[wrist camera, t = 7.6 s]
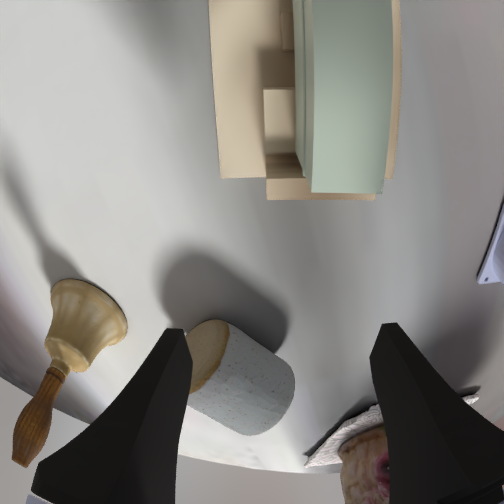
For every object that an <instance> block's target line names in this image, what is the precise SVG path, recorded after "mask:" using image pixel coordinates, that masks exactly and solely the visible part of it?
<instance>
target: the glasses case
mask: <svg viewBox="0 0 504 504" xmlns="http://www.w3.org/2000/svg"><path fill="white" fill-rule="evenodd" d="M293 19H294V47H295V116H296V123H295V152H296V154H297V157H298V159H299V162H300V164H301V167H302V174H303V176H305V177H306V180H307V182H308V185H309V188H310V190H311V193H362V194H382V192H383V185H384V178H385V170H386V162H387V153H388V144H389V134H390V122H391V108H392V89H393V19H392V2H391V0H293Z"/></svg>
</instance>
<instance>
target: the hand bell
mask: <svg viewBox="0 0 504 504" xmlns="http://www.w3.org/2000/svg"><path fill="white" fill-rule="evenodd" d="M51 305H52V308H53V319H52V323H51V326H50V329H49V332H48V334H47V337H46V339H45V349H46V351H47V353H48V354H49V355H50V357H51V358H52V362H51V364H50V368H48V369H47V371H46V374H45V376H44V378H43V381H42V383H41V385H40V388H39V390H38V392H37V393H36V395H35V396H34V397H33V398H32V400H31V401H30V402H29V403H28V404H27V405H26V406H25V407H24V409H23V410H22V412H21V414H20V415H19V417H18V420H17V422H16V425H15V428H14V433H13V454H12V460H13V461H15V462H16V463H18V464H19V465H21V466H23V467H25V468H27V467H28V465H29V464H30V462H31V461H32V460H33V459H34V458H35V457H36V456H37V455H38V454H39V452H40V451H41V450H42V448H43V446H44V444H45V442H46V439H47V437H48V434H49V430H50V426H51V420H52V409H53V404H54V401H55V399H56V397H57V395H58V393H59V391H60V389H61V387H62V384H63V383H64V381H65V378H67V376H68V374H69V372H70V371H74V372H84V371H86V370H87V369H88V368H89V367H90V365H91V363H92V362H93V360H94V359H95V357H96V356H97V354H98V353H99V352H100V351H101V350H102V349H103V348H105V347H106V346H110V345H114V344H116V343H118V342H120V341H121V340H122V339H123V338H124V337H125V336H126V334H127V328H128V327H127V321H126V318H125V316H124V314H123V312H122V311H121V310H120V308H119V307H118V306H117V304H116V303H115V302H114V301H113V300H112V299H111V298H110V297H109V296H108V295H106V294H105V293H104V292H102V291H101V290H100V289H98V288H96V287H95V286H92V285H90V284H88V283H86V282H83V281H80V280H75V279H65V280H61V281H59V282H57V283H56V284H55V285H54V287H53V288H52V292H51Z"/></svg>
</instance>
